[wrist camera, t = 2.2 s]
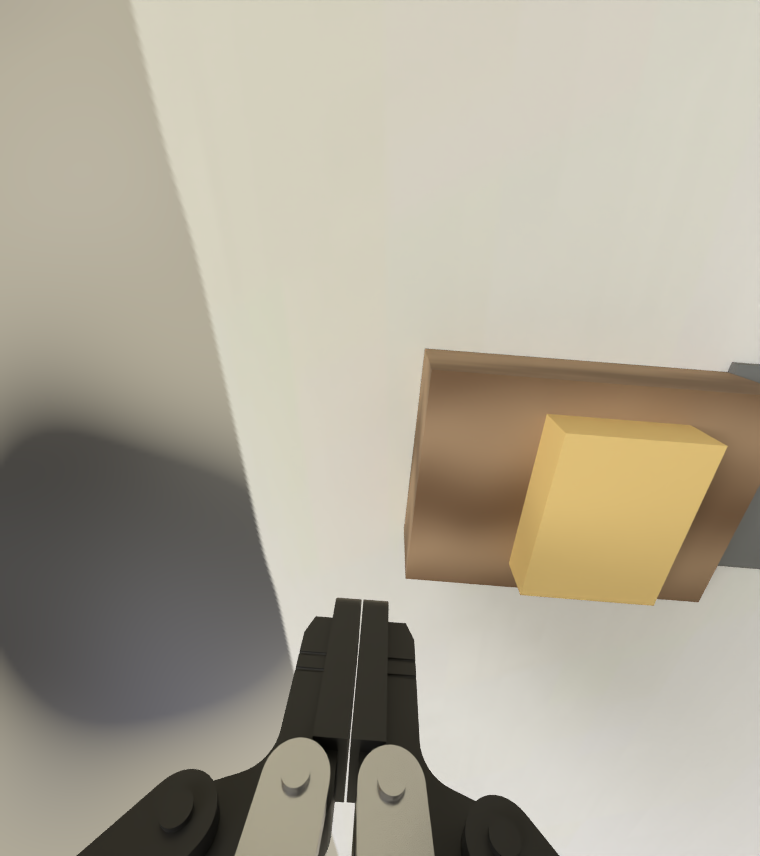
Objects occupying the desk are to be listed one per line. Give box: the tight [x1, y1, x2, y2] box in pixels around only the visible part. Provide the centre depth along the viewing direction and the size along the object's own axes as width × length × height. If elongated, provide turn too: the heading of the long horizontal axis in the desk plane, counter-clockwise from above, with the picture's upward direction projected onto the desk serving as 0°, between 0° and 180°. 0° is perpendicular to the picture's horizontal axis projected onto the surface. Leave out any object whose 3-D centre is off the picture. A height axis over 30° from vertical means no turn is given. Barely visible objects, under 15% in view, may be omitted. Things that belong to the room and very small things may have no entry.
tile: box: [509, 414, 728, 606], centre depth 17 cm, size 8×6×2 cm
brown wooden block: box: [404, 349, 760, 602], centre depth 20 cm, size 11×15×4 cm
